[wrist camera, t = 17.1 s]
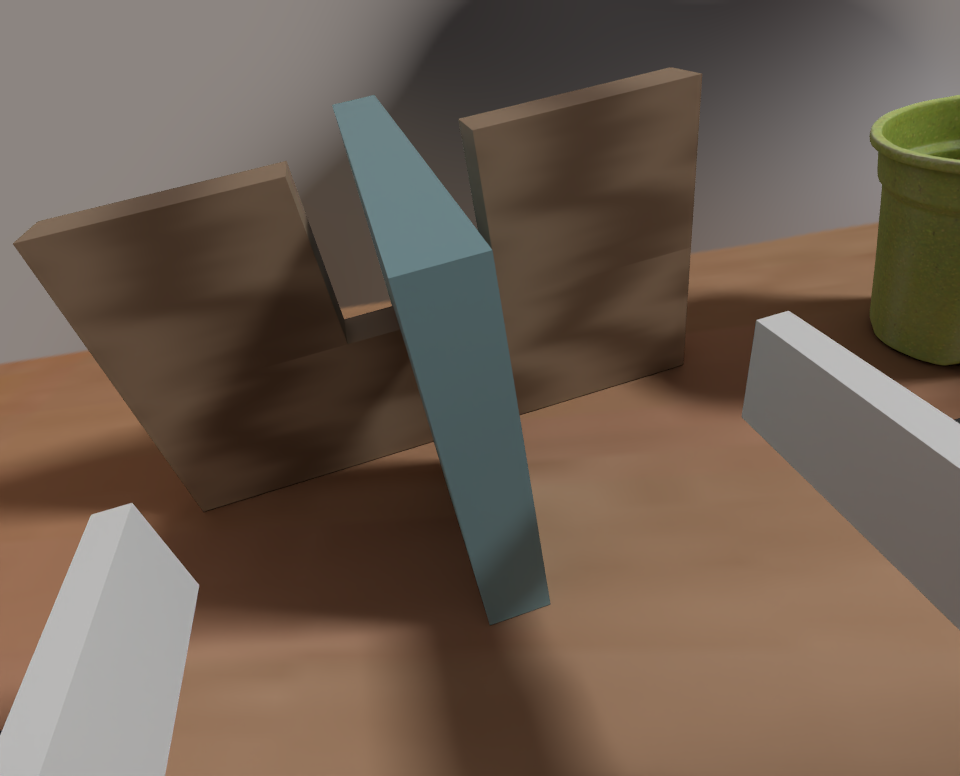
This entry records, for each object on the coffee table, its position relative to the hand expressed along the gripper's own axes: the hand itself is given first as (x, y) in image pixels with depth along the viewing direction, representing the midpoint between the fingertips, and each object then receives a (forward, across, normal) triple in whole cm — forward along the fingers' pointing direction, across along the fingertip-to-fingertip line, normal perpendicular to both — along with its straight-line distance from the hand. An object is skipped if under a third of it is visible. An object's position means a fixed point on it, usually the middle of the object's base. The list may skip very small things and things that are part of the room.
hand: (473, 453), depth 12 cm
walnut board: (+11, 0, -8) cm, 14 cm away
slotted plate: (+11, 0, -8) cm, 14 cm away
